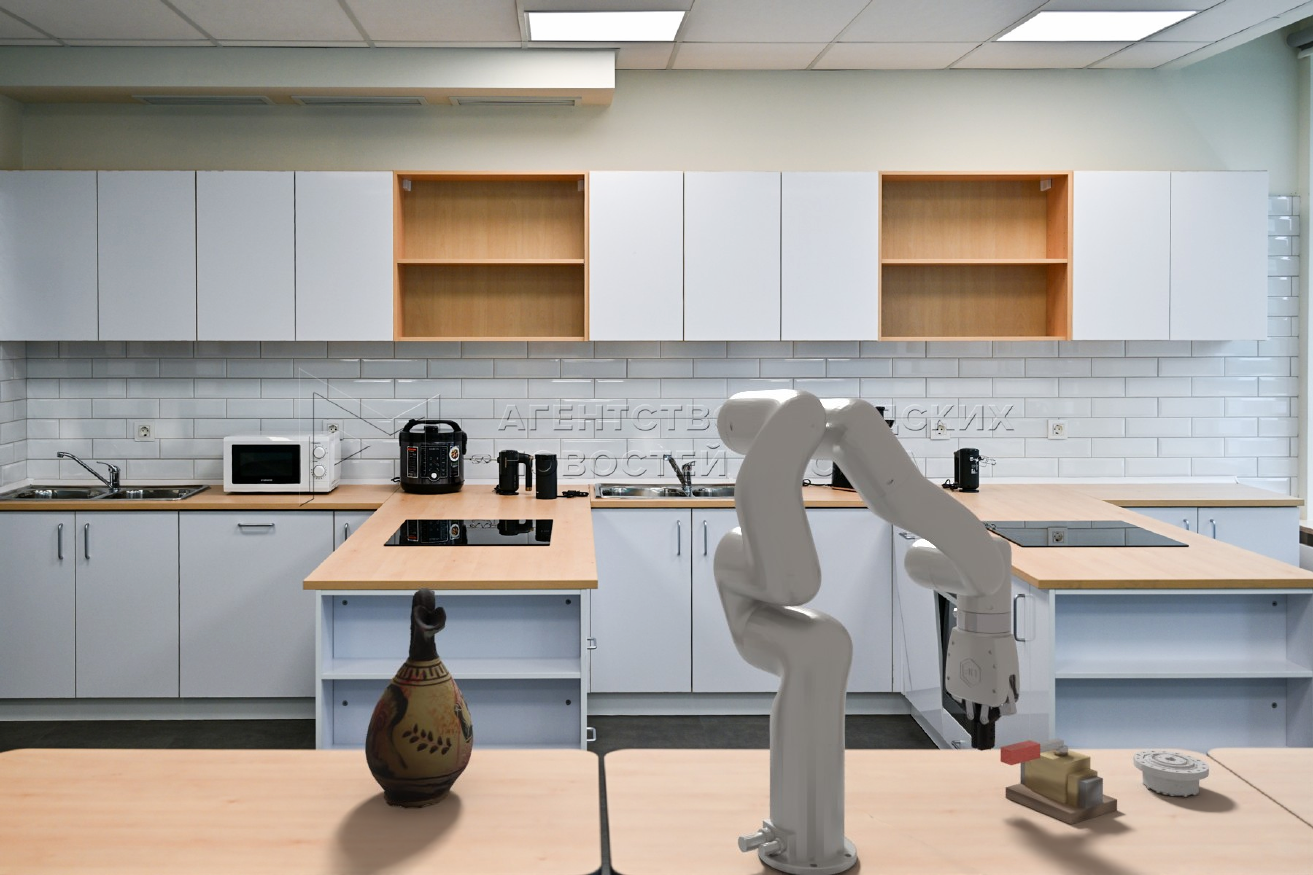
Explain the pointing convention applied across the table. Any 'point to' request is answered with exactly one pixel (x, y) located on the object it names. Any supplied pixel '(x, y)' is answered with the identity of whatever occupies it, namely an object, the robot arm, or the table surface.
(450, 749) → the ceramic jug
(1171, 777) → the mechanical component
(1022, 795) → the valve block
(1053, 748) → the valve lever
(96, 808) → the table surface
